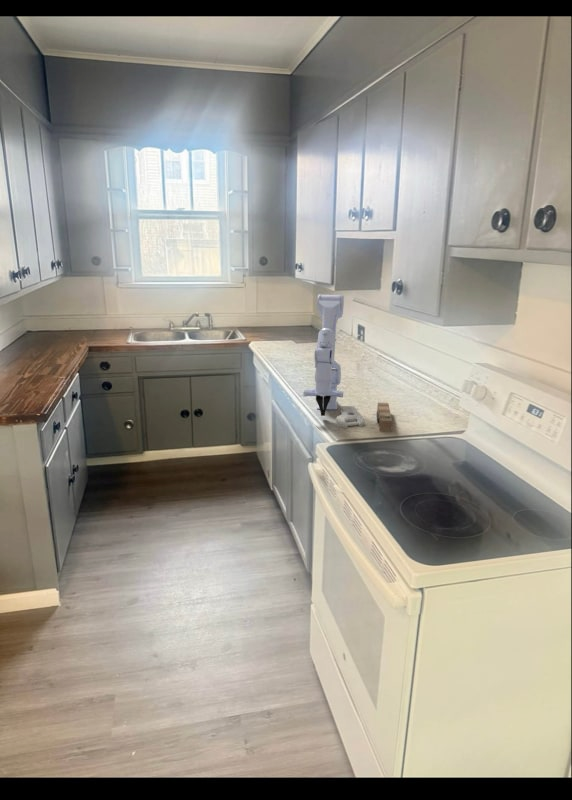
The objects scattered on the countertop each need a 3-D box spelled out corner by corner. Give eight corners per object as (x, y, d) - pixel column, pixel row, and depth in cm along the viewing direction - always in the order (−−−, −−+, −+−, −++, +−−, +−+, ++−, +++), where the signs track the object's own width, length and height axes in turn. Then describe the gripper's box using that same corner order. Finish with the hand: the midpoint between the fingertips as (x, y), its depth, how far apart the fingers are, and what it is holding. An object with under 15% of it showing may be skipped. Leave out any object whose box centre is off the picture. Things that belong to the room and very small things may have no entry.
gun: (332, 403, 202) (357, 403, 203) (331, 412, 203) (357, 411, 204) (340, 422, 185) (368, 422, 186) (339, 431, 186) (367, 431, 187)
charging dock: (375, 412, 203) (376, 401, 201) (387, 412, 202) (388, 401, 201) (378, 431, 184) (378, 419, 182) (391, 431, 183) (392, 419, 182)
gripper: (302, 382, 188) (302, 417, 192) (343, 383, 186) (342, 419, 190) (304, 377, 195) (304, 411, 199) (343, 378, 193) (342, 412, 197)
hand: (322, 414), depth 195 cm, fingers closed
